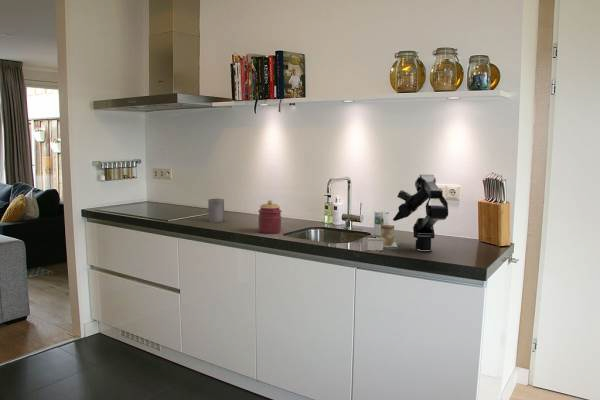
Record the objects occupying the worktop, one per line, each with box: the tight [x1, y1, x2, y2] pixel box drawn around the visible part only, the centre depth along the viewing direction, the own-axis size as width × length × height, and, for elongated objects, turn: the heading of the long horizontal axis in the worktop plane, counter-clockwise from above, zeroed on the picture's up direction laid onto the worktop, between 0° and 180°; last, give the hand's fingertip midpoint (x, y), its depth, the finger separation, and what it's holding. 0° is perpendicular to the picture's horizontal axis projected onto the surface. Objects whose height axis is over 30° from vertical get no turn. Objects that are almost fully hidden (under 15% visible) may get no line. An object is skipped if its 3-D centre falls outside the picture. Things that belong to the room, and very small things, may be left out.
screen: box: [367, 237, 384, 251], centre depth 214 cm, size 7×2×6 cm, turn 82°
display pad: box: [383, 241, 398, 248], centre depth 225 cm, size 9×9×1 cm
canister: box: [257, 200, 282, 235], centre depth 257 cm, size 13×13×18 cm
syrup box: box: [373, 209, 390, 238], centre depth 244 cm, size 6×6×14 cm
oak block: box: [381, 224, 395, 246], centre depth 224 cm, size 5×5×9 cm
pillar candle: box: [207, 198, 225, 223], centre depth 289 cm, size 10×10×15 cm
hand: (395, 218), depth 224 cm, fingers open, 9 cm apart
